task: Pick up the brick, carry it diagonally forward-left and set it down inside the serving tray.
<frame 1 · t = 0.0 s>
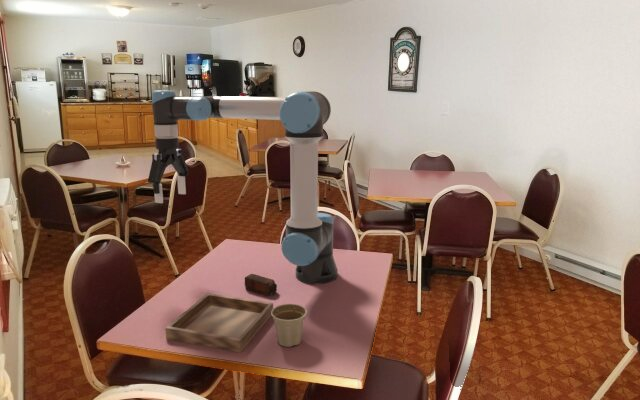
hand: (171, 198, 160), 28 cm above the table, fingers open, 13 cm apart
brick: (260, 291, 153), on the table
flower pot: (289, 341, 123), on the table
tray: (222, 325, 131), on the table
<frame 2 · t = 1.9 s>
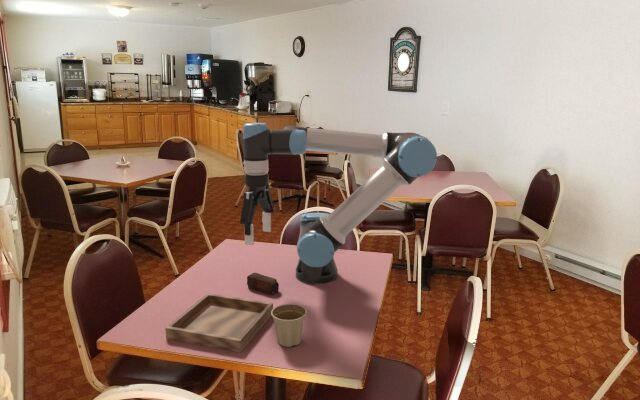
hand: (258, 237, 148), 19 cm above the table, fingers open, 13 cm apart
brick: (262, 290, 154), on the table
everything else where it was.
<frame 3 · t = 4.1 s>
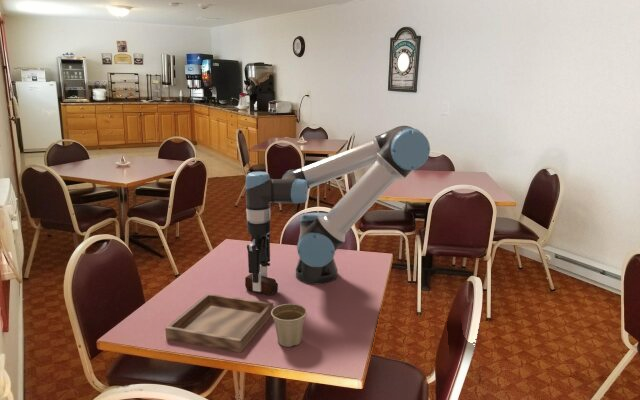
hand: (260, 287, 152), 1 cm above the table, fingers closed on brick, 4 cm apart
brick: (261, 291, 153), on the table, touching gripper
everything else where it was.
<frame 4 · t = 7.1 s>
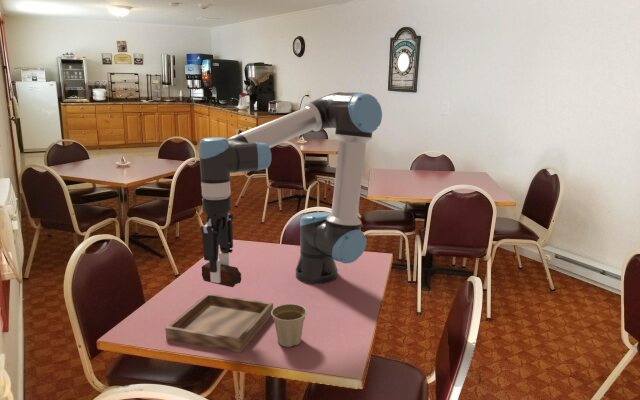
hand: (220, 278, 127), 14 cm above the table, fingers closed on brick, 4 cm apart
brick: (221, 282, 127), point 13 cm above the table, touching gripper
everything else where it was.
when the fingers open (3 cm above the table, at t = 9.9 s): brick stays where it is, resting on tray.
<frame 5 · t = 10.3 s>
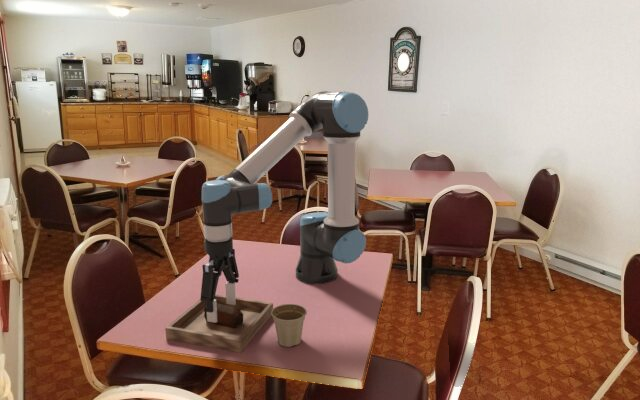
hand: (222, 312, 130), 4 cm above the table, fingers open, 10 cm apart
brick: (224, 323, 131), point 1 cm above the table, touching tray
everything else where it was.
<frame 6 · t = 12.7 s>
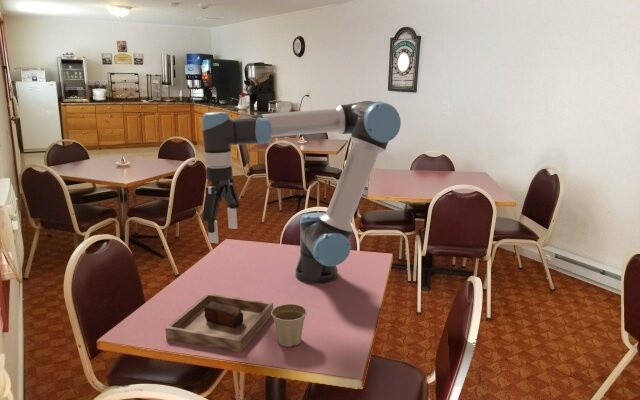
hand: (223, 235, 139), 22 cm above the table, fingers open, 13 cm apart
nothing on the table moved.
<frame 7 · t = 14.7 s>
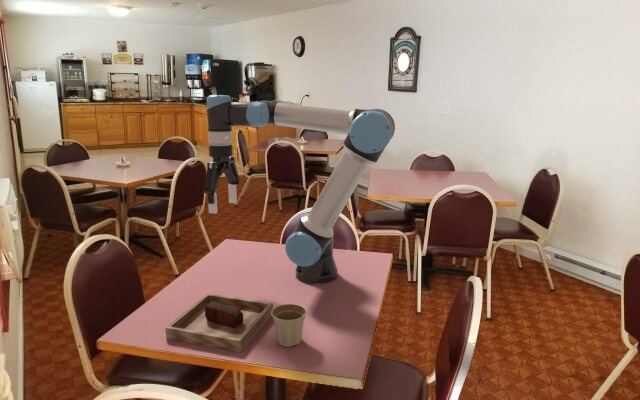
hand: (223, 207, 153), 27 cm above the table, fingers open, 13 cm apart
nothing on the table moved.
at the end: brick inside the target area on the tray (0.7 cm from its centre), point 0.6 cm above the tray's base; brick touching tray; the gripper is holding nothing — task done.
